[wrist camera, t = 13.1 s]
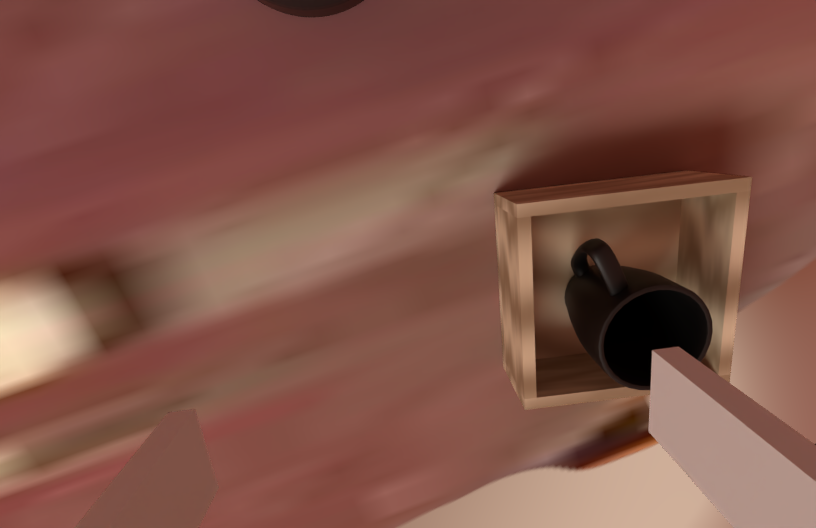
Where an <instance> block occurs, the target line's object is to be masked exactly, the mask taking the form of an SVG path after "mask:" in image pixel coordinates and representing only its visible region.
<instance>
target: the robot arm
mask: <svg viewBox="0 0 816 528" xmlns="http://www.w3.org/2000/svg"><path fill="white" fill-rule="evenodd" d="M258 1H259V2H261V3H263V4H264V5H266V6H268V7H270V8H272V9H275V10H277V11H280V12H283V13H286V14H290V15H294V16H301V17H323V16H329V15H333V14H337V13H340V12H343V11H345V10H348V9H350V8H352V7H354V6H356V5H357V4H359V3H361V2H362V1H364V0H258ZM649 432H650V434H651V435H652V436H653V437H654V438H655V439H656V440H657V441H658V443H659V444H660V445H661V446H662V447H663V448H664V449H665V450H666V452H667V453H668V454H669V455H670V456H671V457H672V458H673V460H675V462H676V463H677V464H678V465H679V466H680V467H681V468H682V470H683V471H684V472H685V473H686V474H687V475H688V477H690V479H691V480H692V481H693V482H694V483H695V484H696V486H697V487H698V488H699V489H700V490H701V491H702V492H703V493H704V494H705V496H706V497H707V498H708V499H709V500H710V501H711V503H712V504H713V505H714V506H715V507H716V508H717V509H718V510H719V512H720V513H721V514H722V515H723V516H724V517H725V518H726V519H727V521H728V522H729V523H730V524H731V525H732V526H733V527H734V528H816V444H814V443H812V442H811V441H809V440H808V439H806V438H805V437H804V436H802V435H801V434H800V433H798V432H797V431H795V430H794V429H793V428H791V427H790V426H788V425H787V424H785V423H784V422H783V421H781V420H780V419H779V418H777V417H776V416H774V415H773V414H772V413H770V412H769V411H768V410H766V409H765V408H763V407H762V406H761V405H759V404H758V403H756V402H755V401H754V400H752V399H751V398H750V397H748V396H747V395H745V394H744V393H743V392H741V391H740V390H738V389H737V388H736V387H734V386H733V385H731V384H730V383H729V382H727V381H726V380H724V379H723V378H722V377H720V376H719V375H718V374H716V373H715V372H713V371H712V370H711V369H709V368H708V367H706V366H705V365H704V364H702V363H701V362H699V361H698V360H697V359H695V358H694V357H692V356H691V355H690V354H688V353H687V352H685V351H684V350H683V349H681V348H680V347H672V348H664V349H656V350H652V364H651V388H650V411H649ZM218 488H219V486H218V483H217V480H216V477H215V473H214V470H213V467H212V463H211V460H210V457H209V453H208V450H207V447H206V443H205V440H204V437H203V433H202V430H201V427H200V424H199V420H198V417H197V414H196V410H195V409H191V410H183V411H175V412H168V413H167V415H166V416H165V417H164V418H163V420H162V421H161V422H160V423H159V424H158V426H157V427H156V428H155V429H154V431H153V432H152V433H151V434H150V436H149V437H148V438H147V439H146V440H145V442H144V443H143V444H142V445H141V447H140V448H139V449H138V450H137V452H136V453H135V454H134V455H133V456H132V458H131V459H130V460H129V461H128V463H127V464H126V465H125V466H124V468H123V469H122V470H121V471H120V472H119V474H118V475H117V476H116V477H115V479H114V480H113V481H112V482H111V484H110V485H109V486H108V487H107V488H106V490H105V491H104V492H103V493H102V495H101V496H100V497H99V498H98V500H97V501H96V502H95V503H94V504H93V506H92V507H91V508H90V509H89V511H88V512H87V513H86V514H85V516H84V517H83V518H82V519H81V520H80V522H79V523H78V524H77V525H76V527H75V528H199V526H200V524H201V522H202V520H203V518H204V516H205V514H206V512H207V510H208V508H209V506H210V504H211V502H212V500H213V498H214V496H215V494H216V492H217V490H218Z"/></svg>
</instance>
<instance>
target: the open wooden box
mask: <svg viewBox="0 0 816 528" xmlns="http://www.w3.org/2000/svg"><path fill="white" fill-rule="evenodd" d="M751 182H752V177H748V176H738V175H728V174H718V173H708V172H698V171H688V170H687V171H678V172H669V173H661V174H652V175H644V176H635V177H626V178H618V179H609V180H601V181H592V182H584V183H575V184H566V185H558V186H549V187H541V188H532V189H523V190H515V191H506V192H498V193H494V205H495V223H496V242H497V260H498V278H499V296H500V315H501V333H502V351H503V367H504V369H505V371H506V373H507V375H508V377H509V379H510V381H511V383H512V385H513V387H514V389H515V391H516V393H517V395H518V397H519V399H520V401H521V403H522V405H523V407H524V409H525V410H527V409H536V408H544V407H552V406H561V405H569V404H577V403H585V402H594V401H602V400H610V399H619V398H627V397H635V396H643V395H650V390H636V389H631V388H628V387H625V386H623V385H621V384H618V383H617V382H615V381H614V380H613V379H612V378H610V377H609V376H608V375H607V374H606V373H605V372H604V371H603V370H602V369H601V367H600V366H599V365H598V364H597V363H596V362H595V361H594V360H593V359H592V358H591V356H590V355H589V354H588V352H587V351H586V350H585V349H584V347H583V346H582V344H581V342H580V341H579V339H578V337H577V335H576V333H575V331H574V328H573V326H572V323H571V321H570V318H569V314H568V310H567V307H566V305H565V298H564V297H565V290H566V287H567V285H568V283H569V281H570V280H571V278H572V277H573V276H574V275H575V274H574V272H573V270H572V267H571V259H572V257H573V255H574V253H575V252H576V250H577V249H578V247H579V246H580V245H581V244H583V243H584V242H586V241H588V240H590V239H595V238H598V239H601V240H603V241H604V242H606V243H607V244H608V245H609V246H610V248H611V249H612V251H613V252H614V254H615V256H616V257H617V259H618V261H619V263H620V265H621V266H628V267H633V268H638V269H642V270H647V271H650V272H653V273H656V274H659V275H661V276H663V277H665V278H667V279H669V280H671V281H673V282H675V283H677V284H679V285H681V286H683V287H685V288H687V289H689V290H691V291H693V292H694V293H696V294H697V295H698V296H699V297H700V298H701V299H702V300H703V301H704V303H705V305H706V306H707V308H708V309H709V312H710V315H711V318H712V327H713V333H712V338H711V343H710V346H709V348H708V350H707V353H706V355H705V357H704V358H703V359H702V361H701V363H702V364H704V365H705V366H706V367H708V368H709V369H711V370H712V371H713V372H715V373H716V374H718V375H719V376H720V377H722V378H723V379H724V380H726V381H727V382H730V373H731V372H730V371H731V363H732V355H733V345H734V336H735V327H736V318H737V309H738V300H739V291H740V282H741V273H742V264H743V255H744V246H745V237H746V228H747V219H748V210H749V201H750V191H751ZM587 260H588V263H589V265H590V266H592V265H595V263H594V262H593V260H592V259H591V257H590V256H589V255H587Z"/></svg>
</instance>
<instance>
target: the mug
mask: <svg viewBox="0 0 816 528" xmlns="http://www.w3.org/2000/svg"><path fill="white" fill-rule="evenodd" d="M587 255H589V256H590V257H591V259H592V260H593V262H594V263H595V265H592V266H590V265H589V263H588V260H587ZM571 267H572V270H573V272H574V274H575V275H574V276H573V277H572V278H571V280H570V281H569V283H568V285H567V287H566V290H565V297H564V298H565V305H566V307H567V310H568V314H569V318H570V321H571V323H572V326H573V328H574V331H575V333H576V335H577V337H578V339H579V341H580V342H581V344H582V346H583V347H584V349H585V350H586V351H587V352H588V354H589V355H590V356H591V358H592V359H593V360H594V361H595V362H596V363H597V364H598V365H599V366H600V367H601V369H602V370H603V371H604V372H605V373H606V374H607V375H608V376H609V377H610V378H612V379H613V380H614V381H615V382H617V383H618V384H621V385H623V386H625V387H628V388H631V389H636V390H650V388H651V364H652V350H656V349H664V348H672V347H680V348H681V349H683V350H684V351H685V352H687V353H688V354H690V355H691V356H692V357H694V358H695V359H697V360H698V361H699V362H701V361H702V359H703V358H704V357H705V355H706V353H707V350H708V348H709V346H710V343H711V338H712V333H713V327H712V318H711V315H710V312H709V309H708V308H707V306H706V305H705V303H704V301H703V300H702V299H701V298H700V297H699V296H698V295H697V294H696V293H694V292H693V291H691V290H689V289H687V288H685V287H683V286H681V285H679V284H677V283H675V282H673V281H671V280H669V279H667V278H665V277H663V276H661V275H659V274H656V273H653V272H650V271H647V270H642V269H638V268H633V267H628V266H621V265H620V263H619V261H618V259H617V257H616V256H615V254H614V252H613V251H612V249H611V248H610V246H609V245H608V244H607V243H606V242H604V241H603V240H601V239H598V238H595V239H590V240H588V241H586V242H584V243H583V244H581V245H580V246H579V247H578V249H577V250H576V252H575V253H574V255H573V257H572V259H571Z"/></svg>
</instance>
